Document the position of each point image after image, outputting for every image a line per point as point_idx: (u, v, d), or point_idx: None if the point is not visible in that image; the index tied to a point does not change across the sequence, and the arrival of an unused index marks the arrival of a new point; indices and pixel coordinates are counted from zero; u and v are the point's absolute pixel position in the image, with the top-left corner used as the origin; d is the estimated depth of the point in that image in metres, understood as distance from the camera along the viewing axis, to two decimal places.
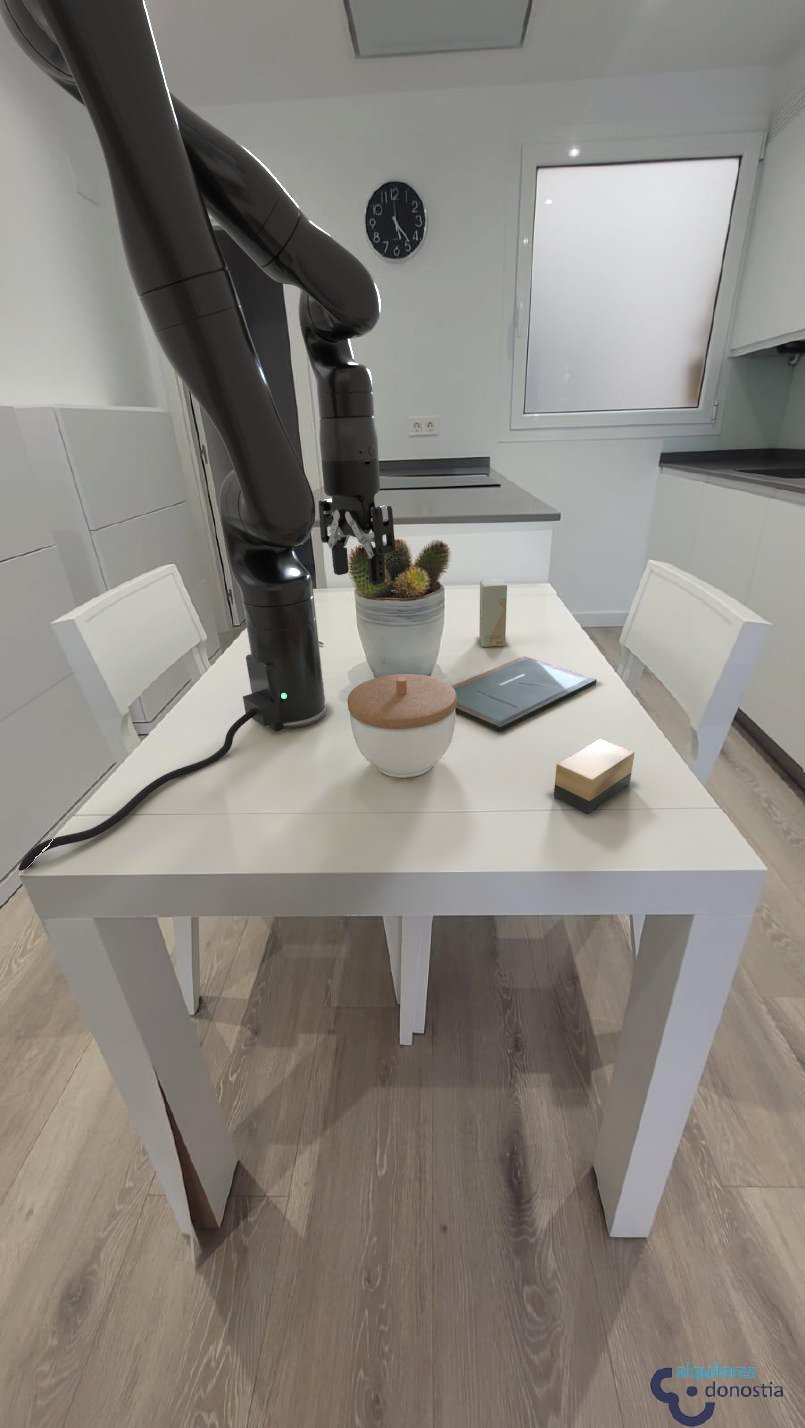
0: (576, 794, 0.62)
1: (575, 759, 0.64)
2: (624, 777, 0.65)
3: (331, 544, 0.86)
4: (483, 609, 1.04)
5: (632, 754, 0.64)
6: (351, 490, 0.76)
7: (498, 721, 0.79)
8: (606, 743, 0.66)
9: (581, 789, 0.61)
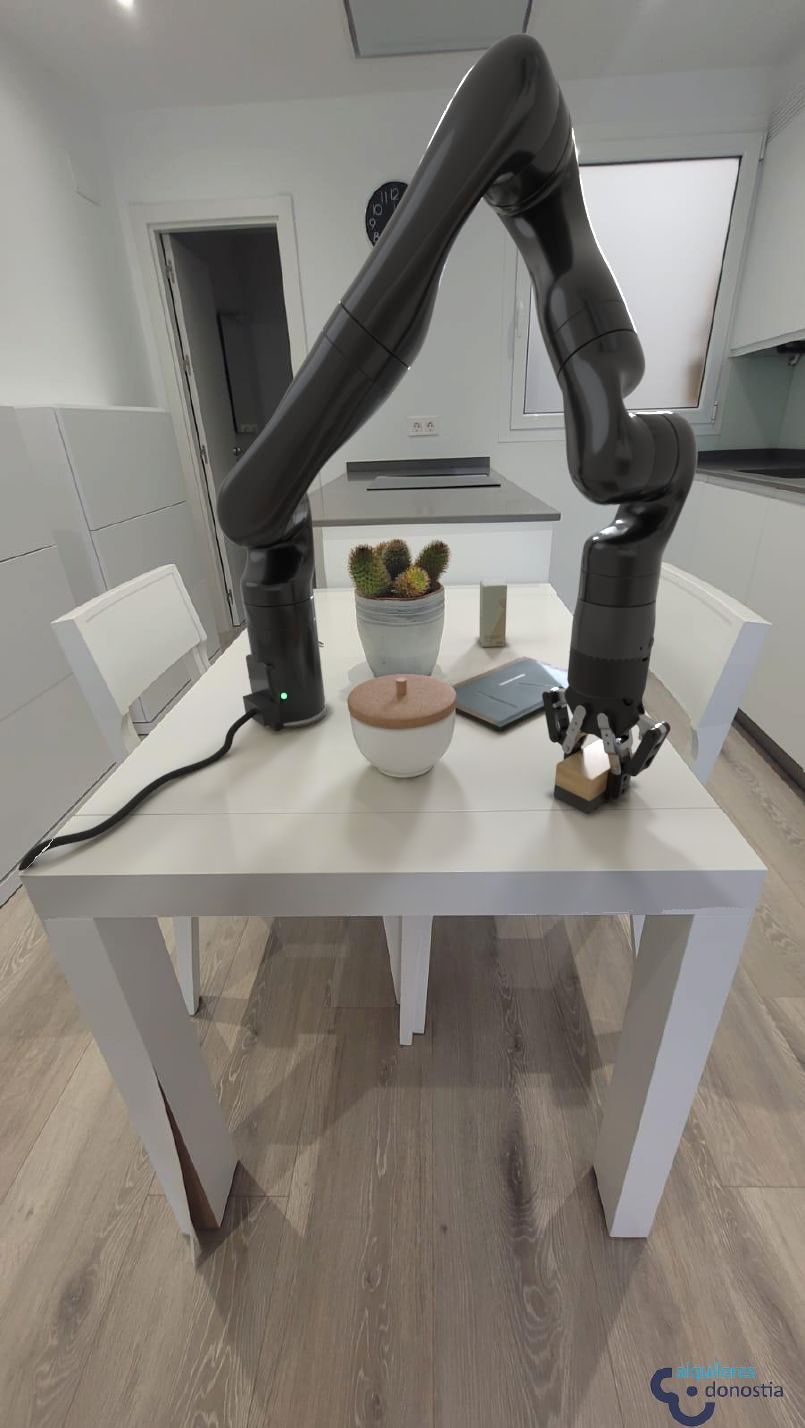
0: (576, 794, 0.62)
1: (575, 759, 0.64)
2: None
3: (569, 749, 0.65)
4: (483, 609, 1.04)
5: (632, 754, 0.64)
6: (620, 694, 0.56)
7: (498, 721, 0.79)
8: None
9: (581, 789, 0.61)
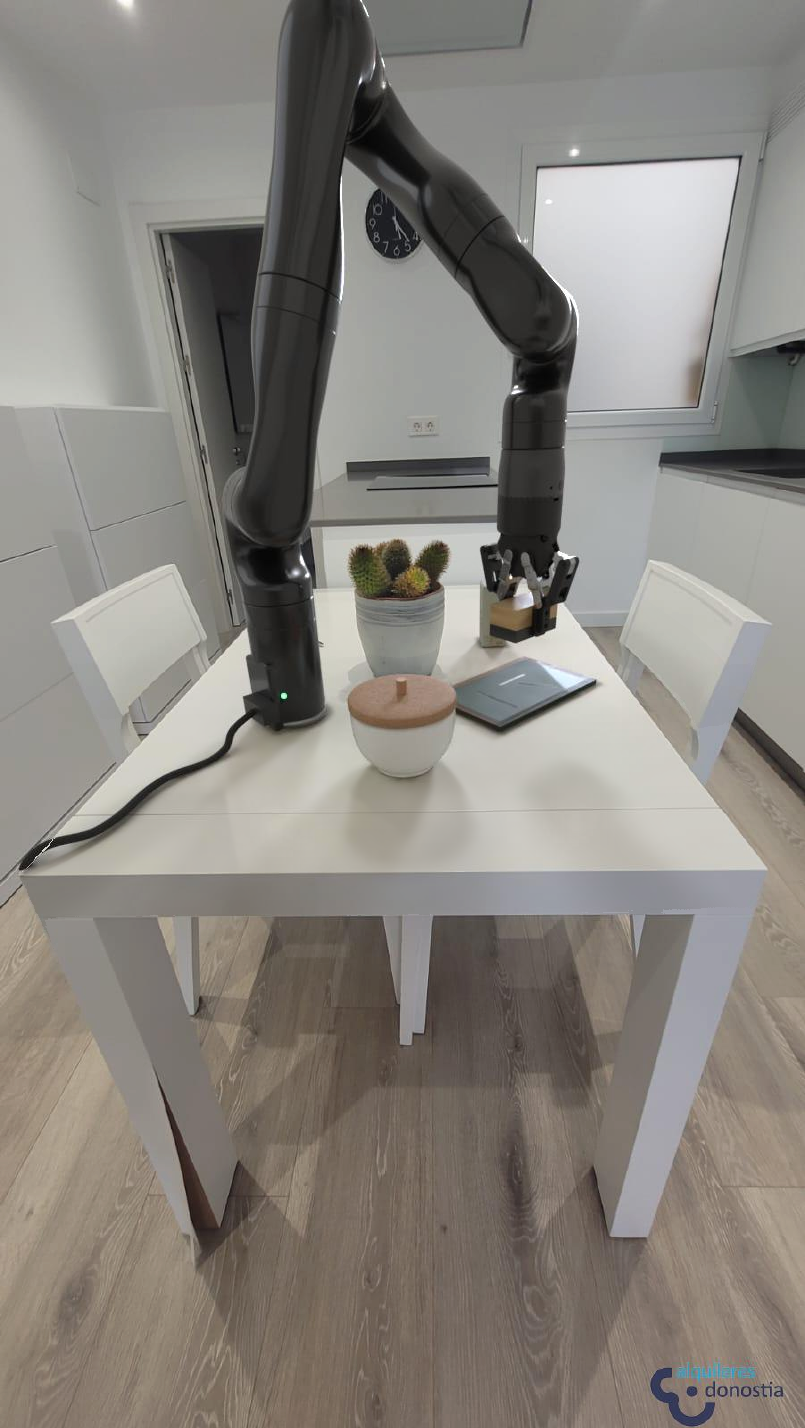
0: (506, 628, 0.74)
1: (507, 601, 0.75)
2: None
3: (502, 594, 0.76)
4: (483, 609, 1.04)
5: None
6: (536, 530, 0.68)
7: (498, 721, 0.79)
8: None
9: (509, 621, 0.73)
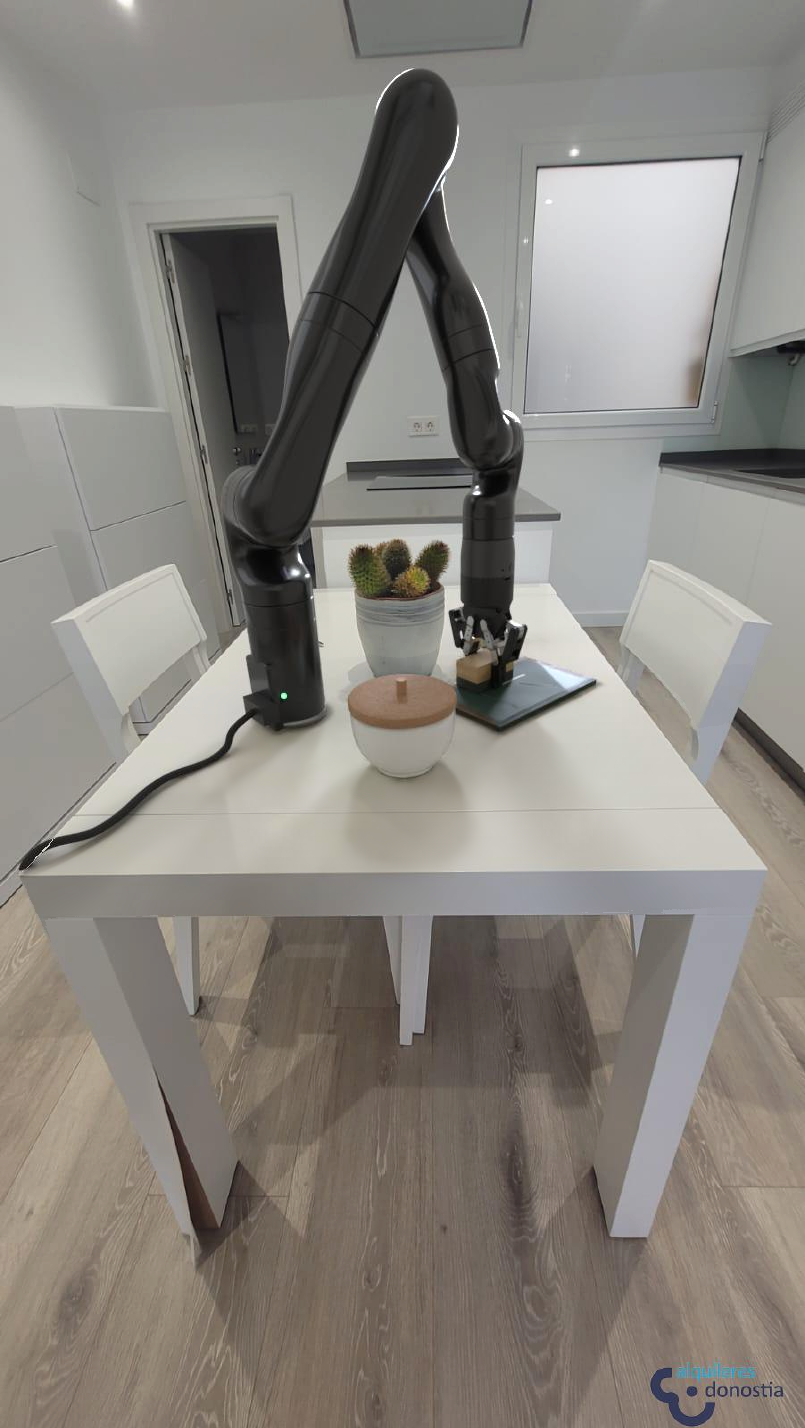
0: (469, 680, 0.88)
1: (470, 657, 0.89)
2: (506, 671, 0.90)
3: (467, 651, 0.90)
4: None
5: None
6: (491, 603, 0.82)
7: (498, 721, 0.79)
8: None
9: (472, 676, 0.87)
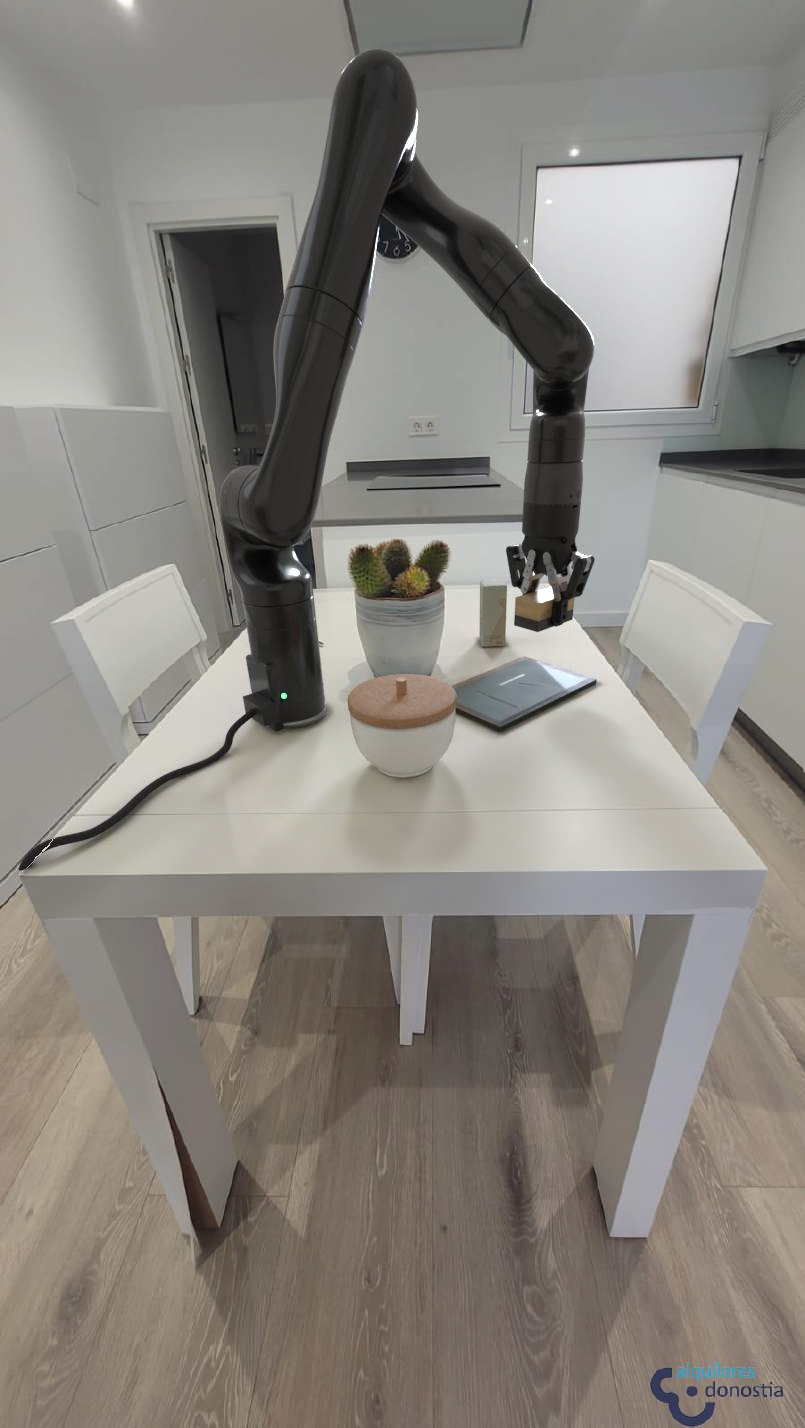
0: (529, 618, 0.84)
1: (530, 595, 0.85)
2: (567, 611, 0.86)
3: (525, 589, 0.86)
4: (483, 609, 1.04)
5: None
6: (557, 532, 0.78)
7: (498, 721, 0.79)
8: None
9: (532, 613, 0.83)
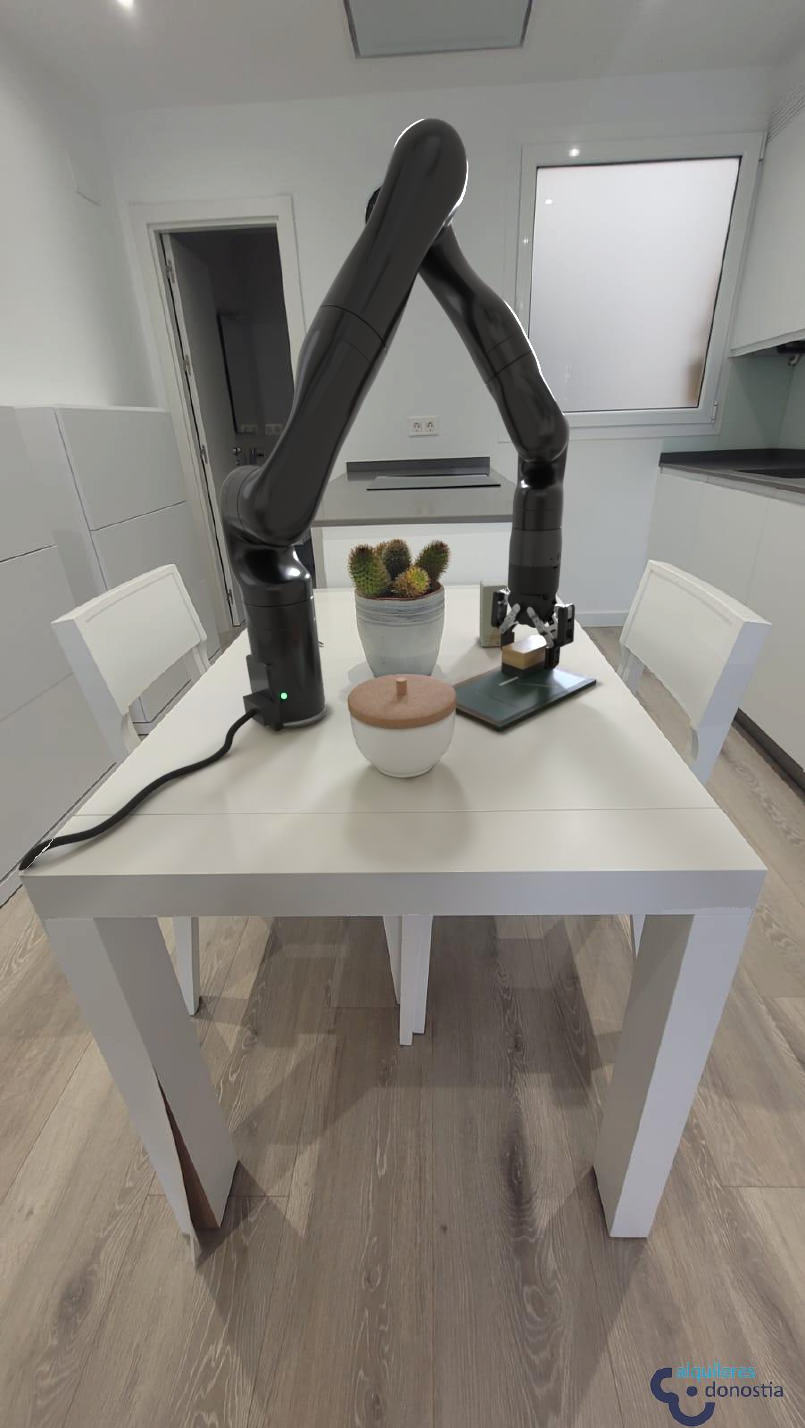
0: (515, 666, 0.92)
1: (515, 644, 0.93)
2: None
3: (503, 630, 0.95)
4: (483, 609, 1.04)
5: None
6: (539, 591, 0.86)
7: (498, 721, 0.79)
8: (538, 636, 0.96)
9: (518, 661, 0.91)
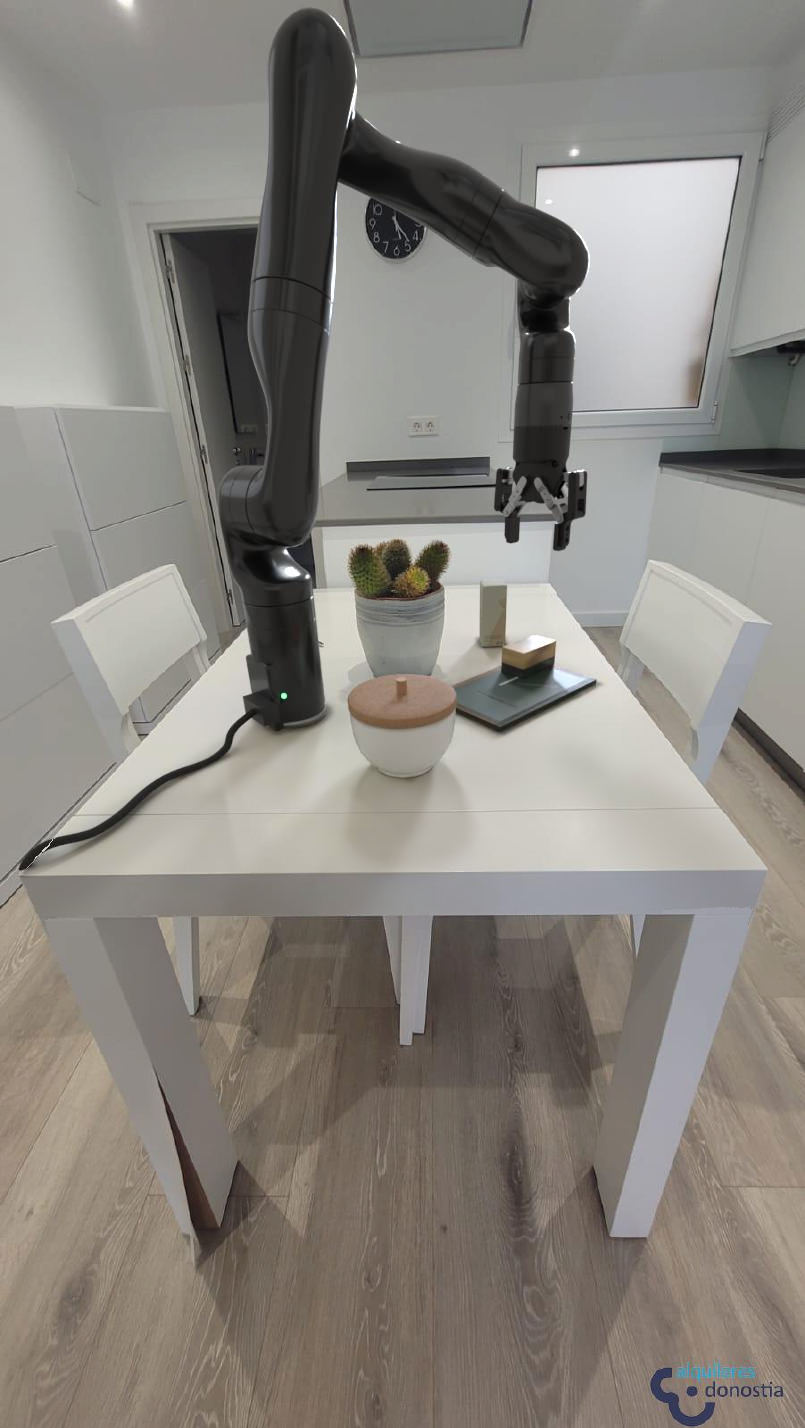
0: (515, 666, 0.92)
1: (515, 644, 0.93)
2: (549, 658, 0.94)
3: (507, 512, 0.87)
4: (483, 609, 1.04)
5: (554, 641, 0.94)
6: (548, 455, 0.78)
7: (498, 721, 0.79)
8: (538, 636, 0.96)
9: (518, 661, 0.91)
